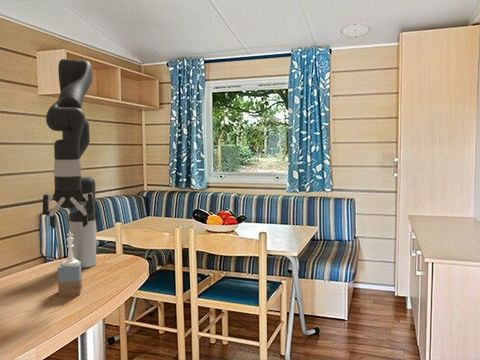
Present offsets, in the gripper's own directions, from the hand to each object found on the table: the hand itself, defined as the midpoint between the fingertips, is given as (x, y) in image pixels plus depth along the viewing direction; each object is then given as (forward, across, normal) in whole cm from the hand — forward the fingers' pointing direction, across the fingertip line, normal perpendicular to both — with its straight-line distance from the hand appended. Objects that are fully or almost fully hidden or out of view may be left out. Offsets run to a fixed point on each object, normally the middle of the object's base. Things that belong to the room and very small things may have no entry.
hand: (69, 227), depth 128 cm
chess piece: (+12, 0, 0) cm, 12 cm away
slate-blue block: (+16, 0, 0) cm, 16 cm away
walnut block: (+20, 0, 0) cm, 20 cm away
